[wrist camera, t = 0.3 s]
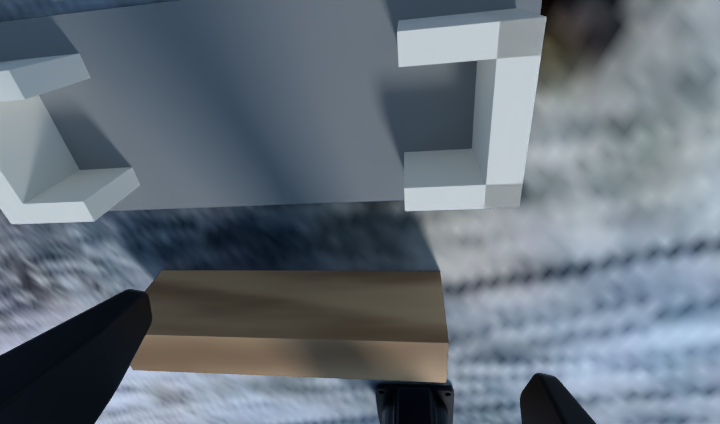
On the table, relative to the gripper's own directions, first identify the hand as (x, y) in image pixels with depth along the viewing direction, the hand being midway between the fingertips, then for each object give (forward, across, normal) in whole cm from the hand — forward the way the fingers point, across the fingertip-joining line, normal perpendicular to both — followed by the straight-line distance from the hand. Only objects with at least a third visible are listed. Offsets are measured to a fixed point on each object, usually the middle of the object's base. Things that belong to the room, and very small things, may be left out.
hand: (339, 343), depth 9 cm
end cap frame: (+14, +7, 0) cm, 15 cm away
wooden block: (+14, +3, +12) cm, 19 cm away
